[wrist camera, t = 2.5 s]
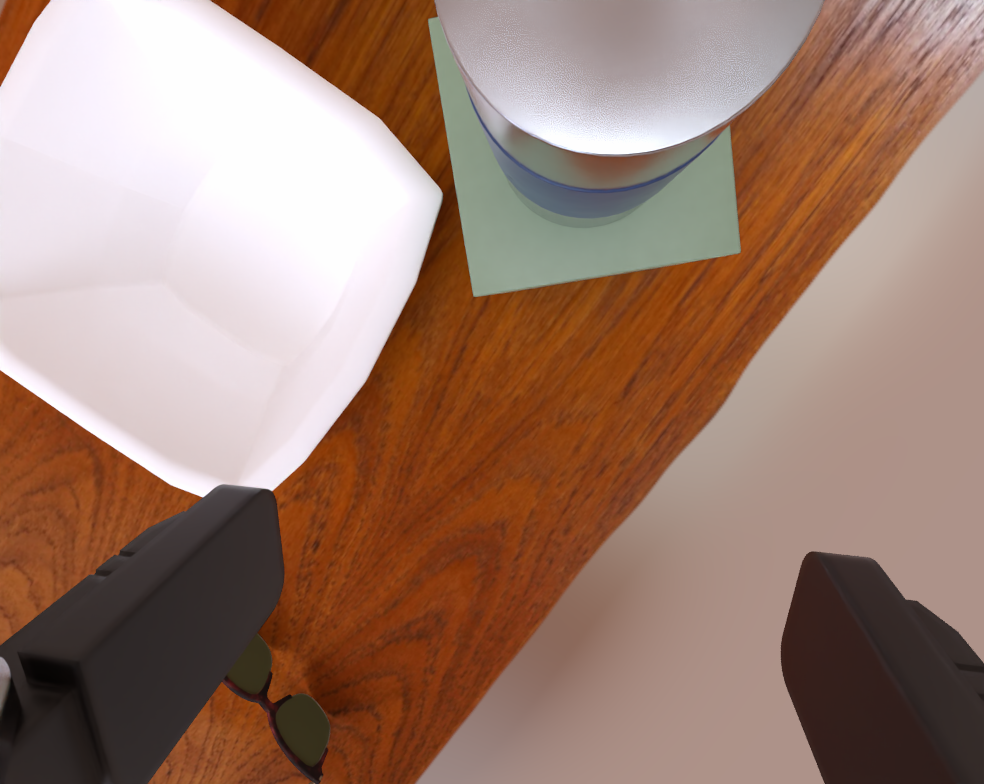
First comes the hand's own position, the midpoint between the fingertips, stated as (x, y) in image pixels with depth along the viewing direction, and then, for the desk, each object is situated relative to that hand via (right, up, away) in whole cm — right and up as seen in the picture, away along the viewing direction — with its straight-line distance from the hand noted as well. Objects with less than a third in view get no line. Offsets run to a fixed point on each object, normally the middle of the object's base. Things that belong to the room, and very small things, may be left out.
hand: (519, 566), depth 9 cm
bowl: (-17, +12, +33) cm, 39 cm away
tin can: (+3, +12, +12) cm, 17 cm away
